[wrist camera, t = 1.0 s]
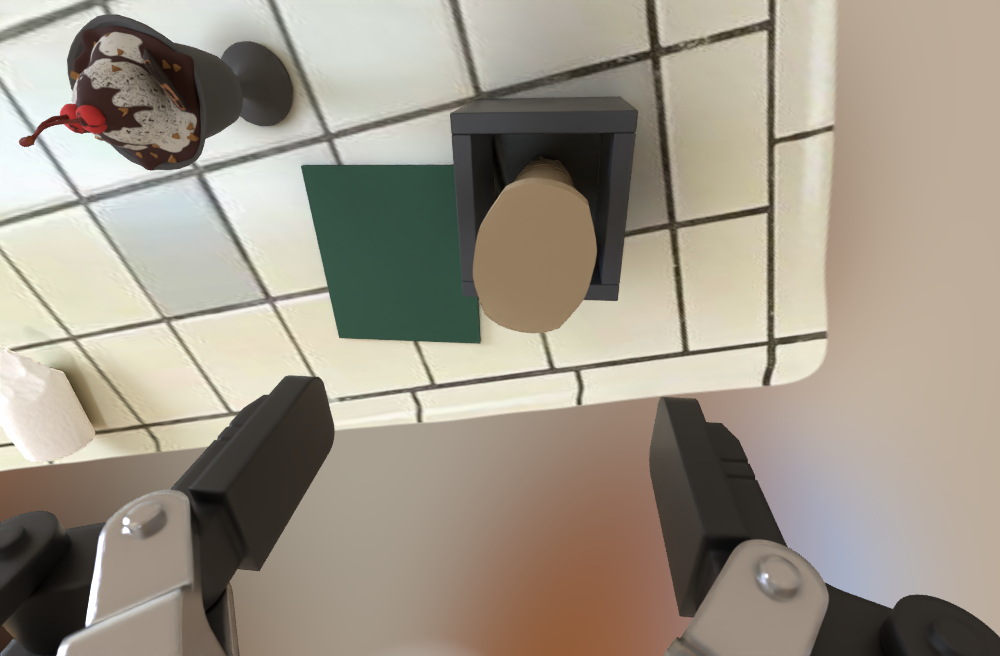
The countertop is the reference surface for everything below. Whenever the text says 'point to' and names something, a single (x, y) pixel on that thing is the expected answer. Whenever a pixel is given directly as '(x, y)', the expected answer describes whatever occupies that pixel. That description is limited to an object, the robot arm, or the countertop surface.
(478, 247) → the handle
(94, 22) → the sundae
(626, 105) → the grey box
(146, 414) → the countertop surface
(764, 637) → the robot arm
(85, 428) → the white tapered piece
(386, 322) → the mat
